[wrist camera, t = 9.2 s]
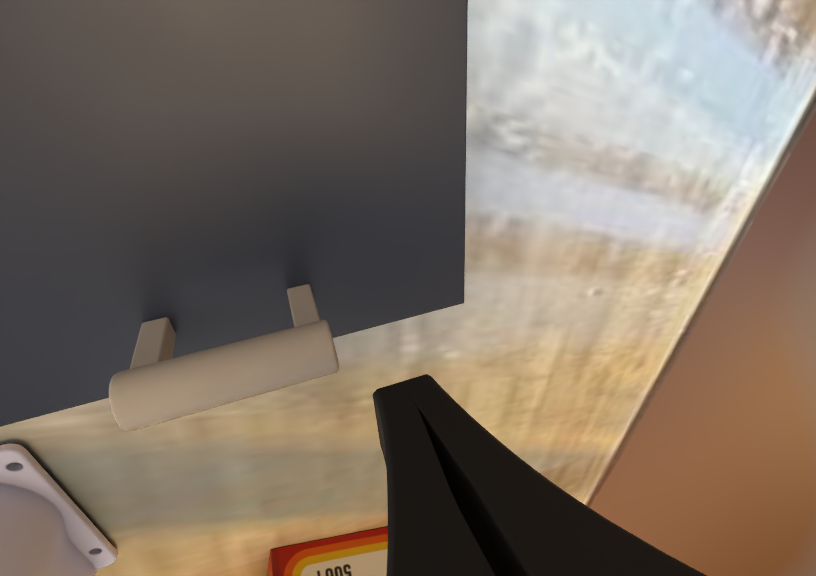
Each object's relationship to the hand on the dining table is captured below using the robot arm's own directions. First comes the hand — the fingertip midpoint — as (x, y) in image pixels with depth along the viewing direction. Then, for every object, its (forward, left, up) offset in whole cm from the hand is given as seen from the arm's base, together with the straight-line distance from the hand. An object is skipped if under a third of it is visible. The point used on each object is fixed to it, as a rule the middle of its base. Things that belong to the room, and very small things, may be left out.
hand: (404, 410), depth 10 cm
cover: (+4, +4, -5) cm, 8 cm away
